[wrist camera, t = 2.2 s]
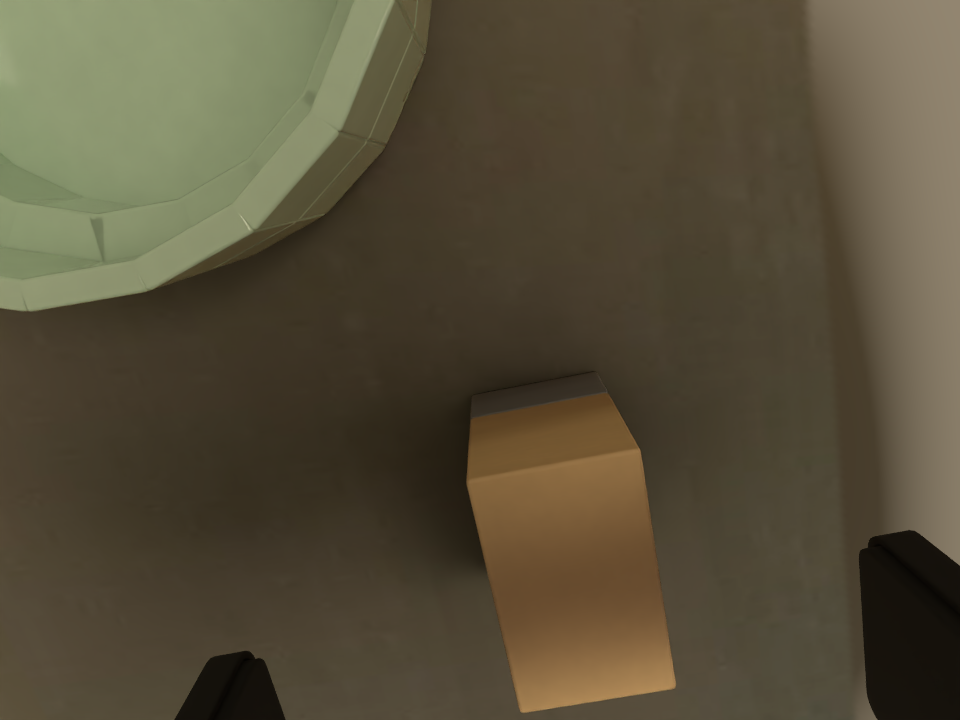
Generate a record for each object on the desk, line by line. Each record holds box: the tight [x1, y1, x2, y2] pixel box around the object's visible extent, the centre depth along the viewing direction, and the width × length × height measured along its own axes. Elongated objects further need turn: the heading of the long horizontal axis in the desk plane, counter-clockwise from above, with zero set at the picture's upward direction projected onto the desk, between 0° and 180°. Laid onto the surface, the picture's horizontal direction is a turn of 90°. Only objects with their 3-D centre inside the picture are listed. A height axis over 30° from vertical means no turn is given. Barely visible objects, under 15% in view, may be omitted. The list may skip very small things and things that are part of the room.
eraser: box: [466, 372, 676, 713], centre depth 14 cm, size 5×3×4 cm, turn 12°
